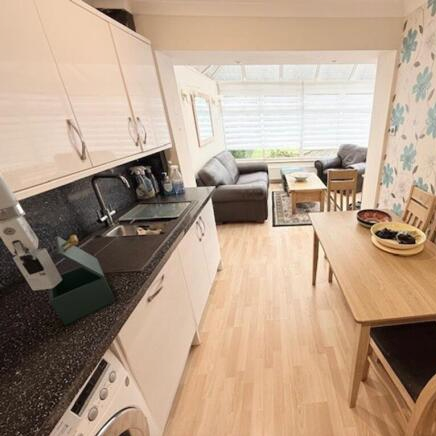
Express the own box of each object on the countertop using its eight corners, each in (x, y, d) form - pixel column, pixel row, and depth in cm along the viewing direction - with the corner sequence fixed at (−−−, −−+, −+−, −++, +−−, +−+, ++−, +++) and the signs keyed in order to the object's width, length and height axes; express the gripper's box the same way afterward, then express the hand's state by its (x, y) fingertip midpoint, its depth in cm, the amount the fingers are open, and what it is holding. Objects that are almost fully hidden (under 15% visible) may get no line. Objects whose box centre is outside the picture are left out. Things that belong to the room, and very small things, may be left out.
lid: (57, 254, 75) (72, 242, 77) (55, 237, 86) (68, 227, 88) (102, 278, 85) (114, 266, 87) (95, 260, 96) (106, 250, 98)
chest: (65, 325, 81) (49, 301, 76) (62, 300, 92) (47, 278, 88) (115, 300, 90) (104, 278, 86) (107, 281, 101) (96, 260, 97)
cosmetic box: (32, 291, 73) (9, 258, 68) (43, 281, 77) (23, 250, 72) (54, 288, 73) (33, 255, 68) (64, 278, 78) (45, 247, 72)
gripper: (20, 217, 61) (54, 273, 69) (24, 202, 73) (53, 251, 80) (-25, 228, 56) (17, 286, 64) (-12, 210, 68) (22, 261, 76)
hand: (37, 266), depth 72 cm, fingers closed on cosmetic box, 6 cm apart
